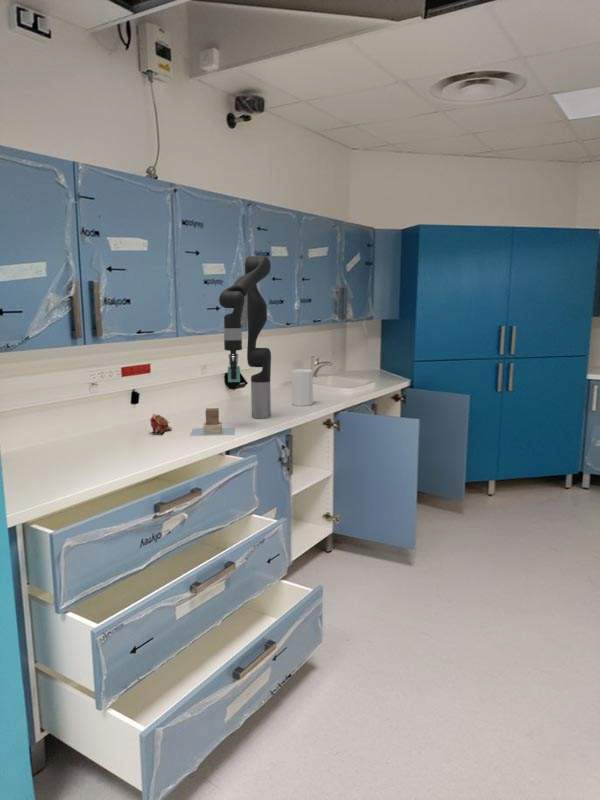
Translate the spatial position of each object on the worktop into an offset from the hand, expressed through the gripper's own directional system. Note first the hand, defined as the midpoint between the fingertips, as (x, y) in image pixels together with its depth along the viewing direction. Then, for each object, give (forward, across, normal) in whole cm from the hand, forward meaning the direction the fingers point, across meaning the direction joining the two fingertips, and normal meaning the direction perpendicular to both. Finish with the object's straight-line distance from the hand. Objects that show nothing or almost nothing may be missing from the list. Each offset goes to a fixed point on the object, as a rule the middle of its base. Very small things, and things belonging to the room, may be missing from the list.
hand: (234, 378), depth 249 cm
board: (+22, -10, +9) cm, 26 cm away
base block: (+21, -12, +9) cm, 26 cm away
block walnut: (+17, -12, +9) cm, 23 cm away
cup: (+23, +57, -35) cm, 71 cm away
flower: (+22, -5, +31) cm, 39 cm away
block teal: (+1, 0, 0) cm, 1 cm away
